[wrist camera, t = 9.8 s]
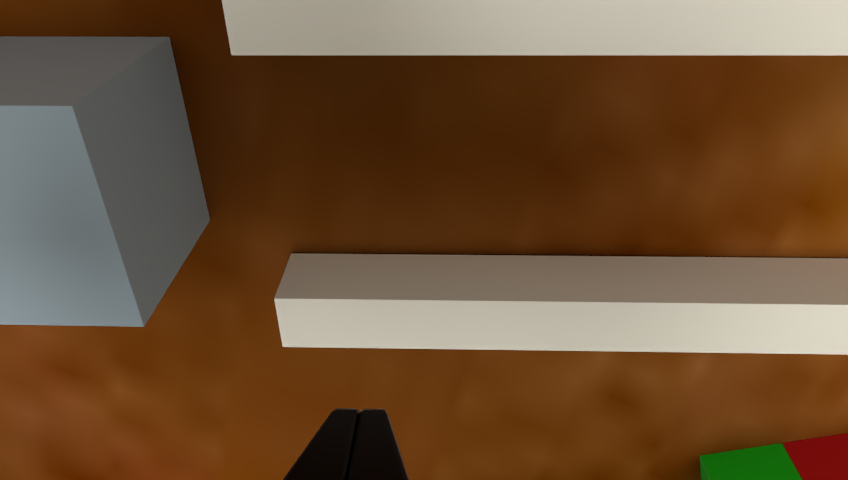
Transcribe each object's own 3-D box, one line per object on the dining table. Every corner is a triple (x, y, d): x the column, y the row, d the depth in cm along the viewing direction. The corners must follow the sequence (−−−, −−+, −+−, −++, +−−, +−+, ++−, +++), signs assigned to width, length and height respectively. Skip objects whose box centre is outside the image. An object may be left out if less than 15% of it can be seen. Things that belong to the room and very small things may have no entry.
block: (211, 218, 21) (144, 326, 16) (35, 216, 21) (-82, 323, 16) (170, 36, 18) (72, 105, 13) (-38, 35, 18) (-209, 104, 13)
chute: (863, 305, 22) (908, 355, 20) (298, 299, 22) (282, 346, 20) (1035, -54, 16) (1127, -38, 13) (245, -50, 16) (215, -34, 14)
